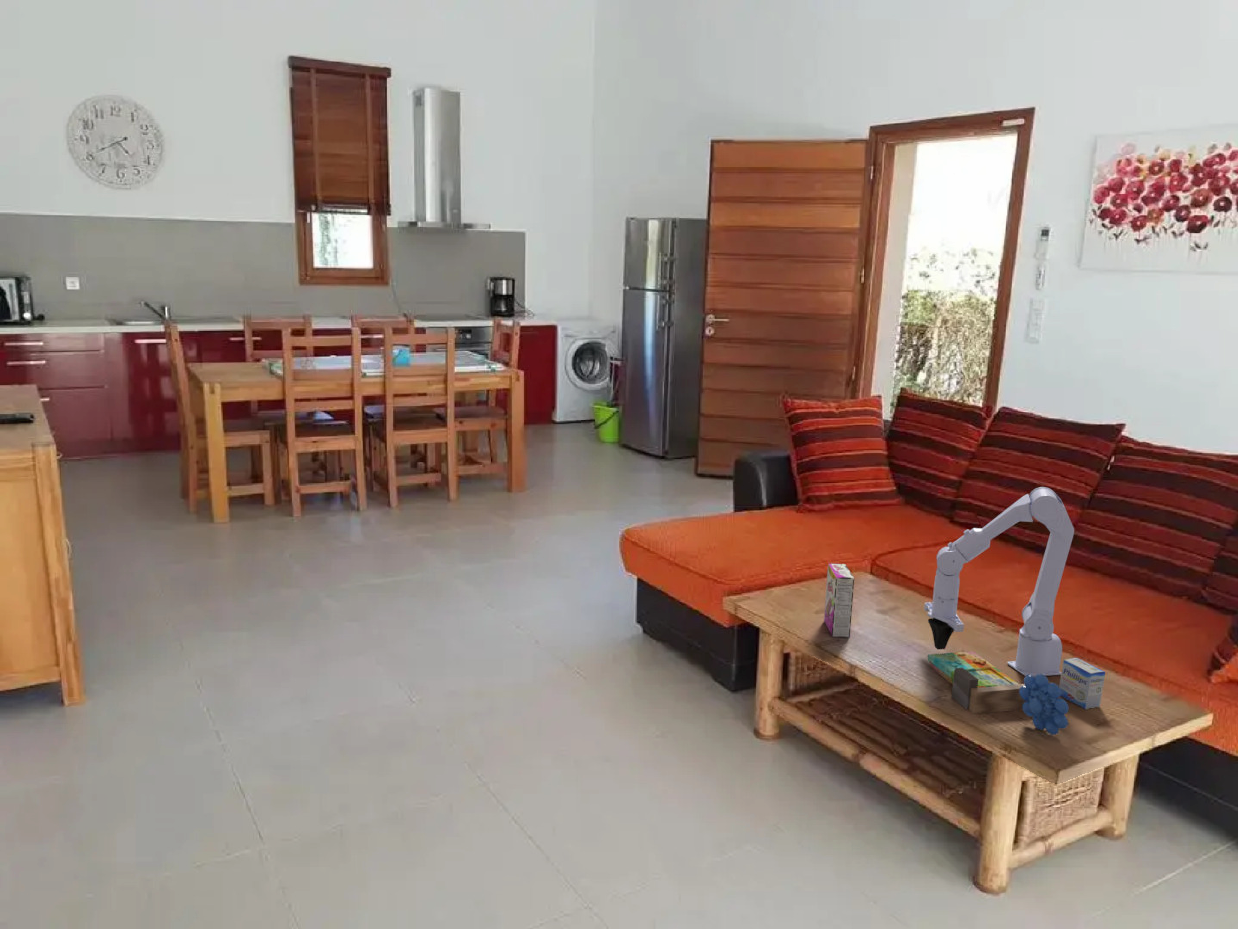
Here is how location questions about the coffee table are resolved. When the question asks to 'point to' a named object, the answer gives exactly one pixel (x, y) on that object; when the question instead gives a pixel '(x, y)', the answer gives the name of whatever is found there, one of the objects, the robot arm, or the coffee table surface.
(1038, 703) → the grapes
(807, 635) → the coffee table surface
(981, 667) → the puzzle game
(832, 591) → the candy bar box
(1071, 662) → the medicine box
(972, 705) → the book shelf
